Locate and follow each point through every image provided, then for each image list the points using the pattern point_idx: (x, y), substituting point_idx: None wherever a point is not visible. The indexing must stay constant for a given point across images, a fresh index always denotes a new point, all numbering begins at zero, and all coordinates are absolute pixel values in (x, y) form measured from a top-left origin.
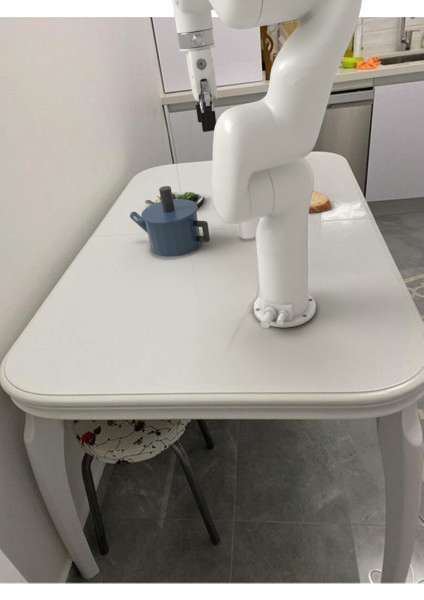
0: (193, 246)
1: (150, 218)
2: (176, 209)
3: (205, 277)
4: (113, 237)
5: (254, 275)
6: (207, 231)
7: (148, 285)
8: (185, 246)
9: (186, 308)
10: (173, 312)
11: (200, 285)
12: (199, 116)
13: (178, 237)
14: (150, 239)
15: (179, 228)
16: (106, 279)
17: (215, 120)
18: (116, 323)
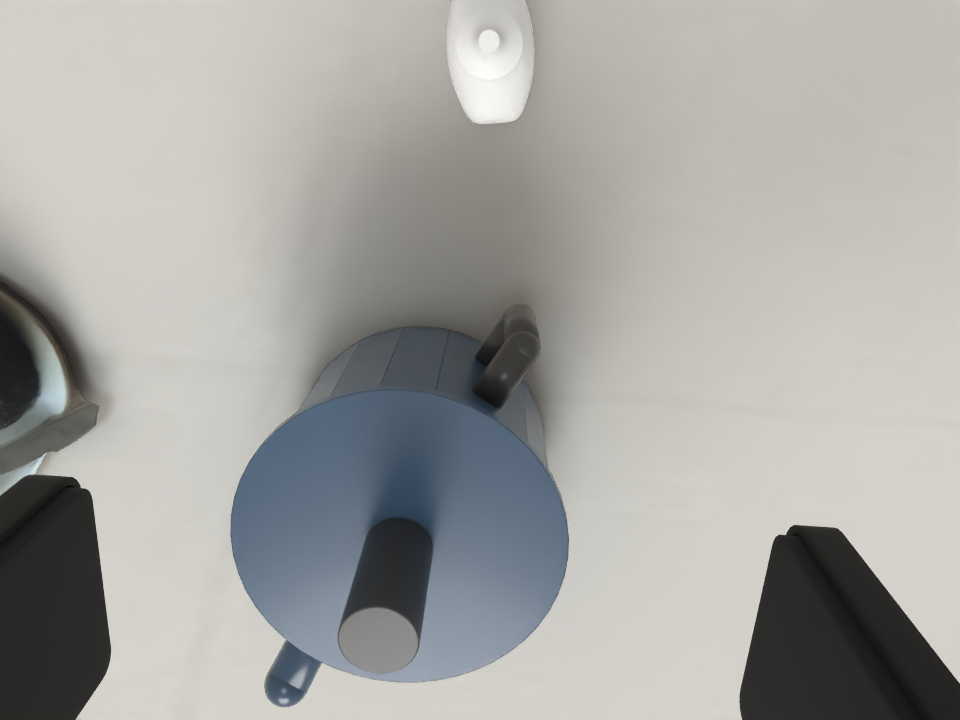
0: (521, 383)
1: (467, 645)
2: (410, 510)
3: (774, 366)
4: (213, 680)
5: (880, 155)
6: (537, 328)
7: (714, 580)
8: (542, 429)
9: (956, 472)
10: (952, 517)
11: (826, 397)
12: (57, 714)
13: None
14: None
15: None
16: (587, 711)
17: (906, 627)
18: None
